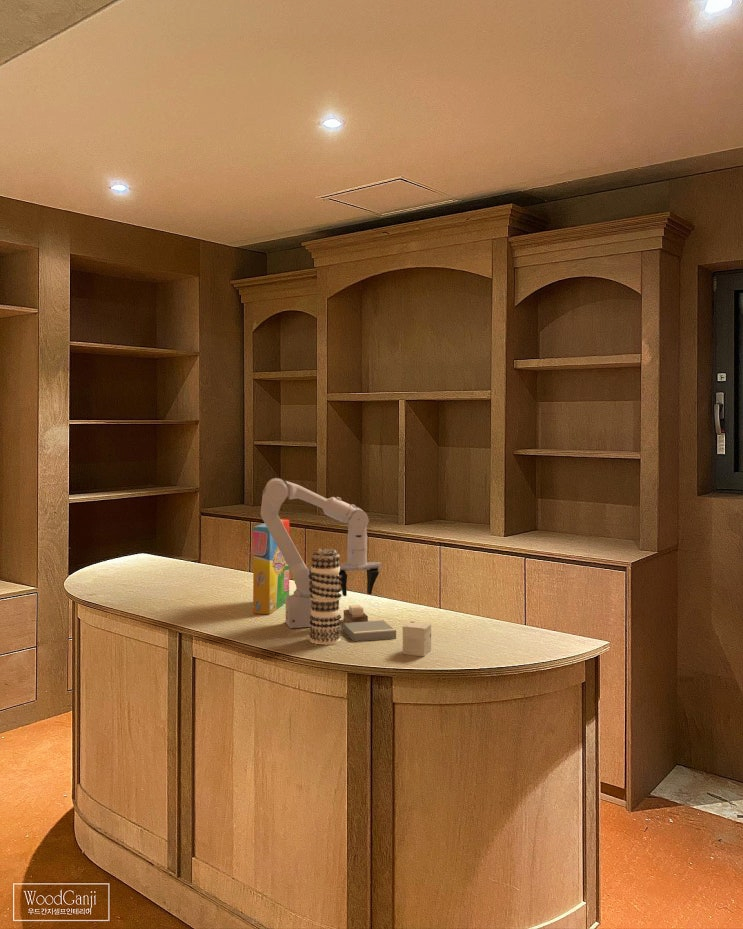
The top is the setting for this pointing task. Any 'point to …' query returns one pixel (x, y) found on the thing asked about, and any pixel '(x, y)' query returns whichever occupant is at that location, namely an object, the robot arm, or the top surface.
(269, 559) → the game box
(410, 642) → the skincare box
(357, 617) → the brown wooden tray
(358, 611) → the beige block
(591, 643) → the top surface
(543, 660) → the top surface
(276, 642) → the top surface
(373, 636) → the dock
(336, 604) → the decorative candle
